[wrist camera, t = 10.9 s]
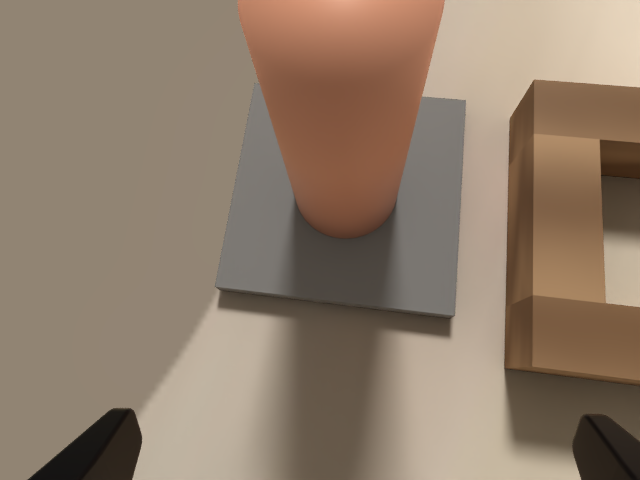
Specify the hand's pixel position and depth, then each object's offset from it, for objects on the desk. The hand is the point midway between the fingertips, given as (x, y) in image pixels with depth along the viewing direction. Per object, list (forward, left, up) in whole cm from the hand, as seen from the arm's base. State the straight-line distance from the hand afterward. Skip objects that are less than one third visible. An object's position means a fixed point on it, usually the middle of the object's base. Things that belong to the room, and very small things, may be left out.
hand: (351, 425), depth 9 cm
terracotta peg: (+9, +1, -9) cm, 13 cm away
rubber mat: (+9, +1, -10) cm, 13 cm away
